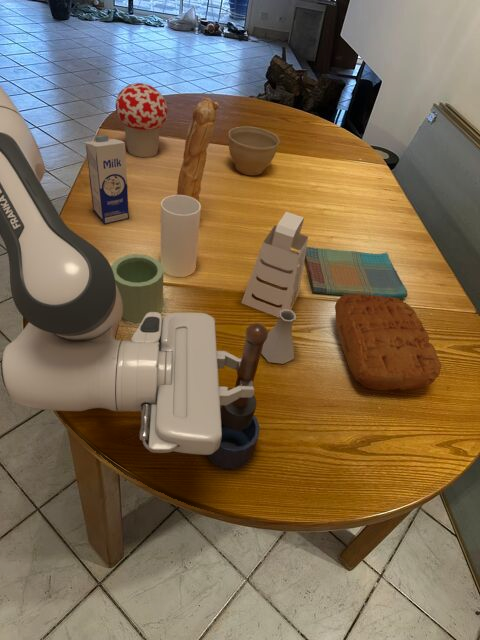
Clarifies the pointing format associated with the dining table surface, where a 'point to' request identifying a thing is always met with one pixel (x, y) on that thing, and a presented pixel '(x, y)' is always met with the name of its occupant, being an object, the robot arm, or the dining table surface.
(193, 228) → the cup
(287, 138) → the dining table surface
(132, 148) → the decorative object
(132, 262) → the jar
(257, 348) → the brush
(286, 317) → the flask
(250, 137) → the planter bowl
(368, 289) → the dish towel
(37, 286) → the robot arm
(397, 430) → the dining table surface
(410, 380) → the cuneiform tablet
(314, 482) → the dining table surface
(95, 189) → the milk carton
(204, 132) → the sculpture
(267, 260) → the grater
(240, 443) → the holder
